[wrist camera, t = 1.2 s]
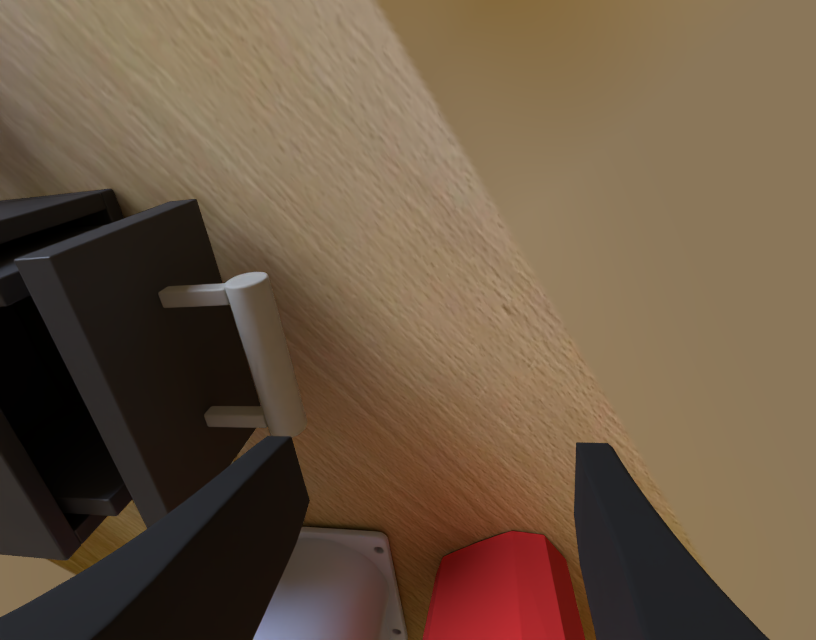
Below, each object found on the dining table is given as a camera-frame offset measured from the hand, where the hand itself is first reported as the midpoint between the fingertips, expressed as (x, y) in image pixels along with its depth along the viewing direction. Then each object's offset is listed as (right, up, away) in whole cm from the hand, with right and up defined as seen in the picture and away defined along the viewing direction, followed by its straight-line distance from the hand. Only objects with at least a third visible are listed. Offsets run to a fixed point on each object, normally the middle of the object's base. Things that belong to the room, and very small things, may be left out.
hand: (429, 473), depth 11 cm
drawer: (-11, +3, +10) cm, 15 cm away
